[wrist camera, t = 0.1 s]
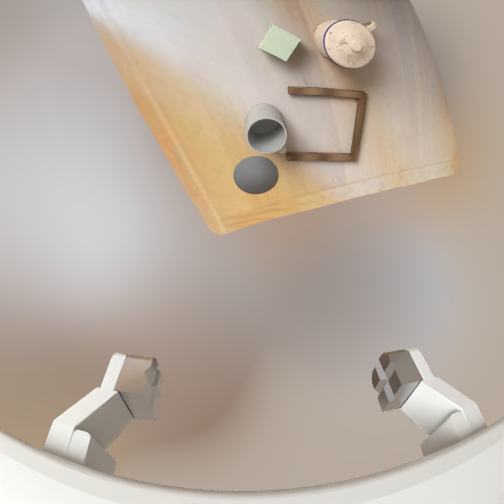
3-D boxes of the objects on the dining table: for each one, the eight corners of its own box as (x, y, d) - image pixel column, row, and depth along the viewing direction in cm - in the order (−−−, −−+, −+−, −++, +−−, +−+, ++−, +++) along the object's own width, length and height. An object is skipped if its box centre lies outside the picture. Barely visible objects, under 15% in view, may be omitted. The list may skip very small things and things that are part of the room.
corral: (286, 157, 59) (287, 160, 58) (287, 86, 47) (288, 88, 46) (354, 158, 59) (356, 161, 58) (364, 91, 47) (366, 93, 46)
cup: (267, 96, 49) (270, 109, 43) (295, 131, 55) (303, 150, 49) (238, 116, 52) (237, 133, 46) (268, 149, 58) (271, 170, 52)
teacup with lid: (332, 69, 44) (352, 82, 36) (301, 35, 39) (316, 39, 31) (377, 39, 38) (405, 48, 30) (349, 4, 33) (374, 2, 25)
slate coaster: (254, 147, 58) (254, 148, 57) (286, 173, 63) (287, 174, 63) (224, 176, 63) (224, 177, 63) (256, 199, 68) (256, 200, 68)
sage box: (271, 25, 38) (274, 25, 34) (295, 37, 40) (300, 39, 36) (258, 46, 41) (260, 48, 38) (282, 57, 43) (286, 61, 39)
